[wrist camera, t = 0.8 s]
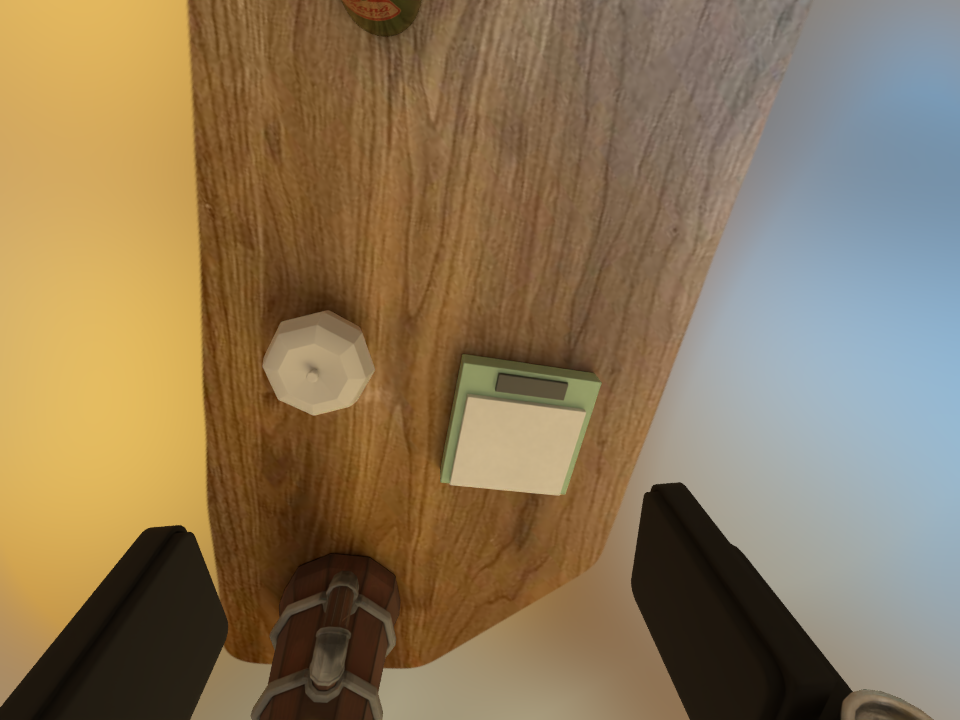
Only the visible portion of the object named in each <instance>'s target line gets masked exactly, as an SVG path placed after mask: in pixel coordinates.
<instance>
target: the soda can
mask: <svg viewBox="0 0 960 720" xmlns="http://www.w3.org/2000/svg"><path fill="white" fill-rule="evenodd" d="M341 1H342V3H343V5H344V7H345V9H346V10H347V12H348V14H349V15H350V17H351V18H352V19H353V21H354V22H355V23H356V24H357V25H358V26H360V27H361V28H362V29H364V30H365V31H367V32H369V33H371V34H374V35H377V36H393V35H397V34H399V33H401V32H403V31H404V30H405V29H407V28H408V27H409V26H410V25H411V24H412V22H413V21H414V19H415V18H416V16H417V14H418V12H419V9H420V6H421V1H422V0H341Z"/></svg>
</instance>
